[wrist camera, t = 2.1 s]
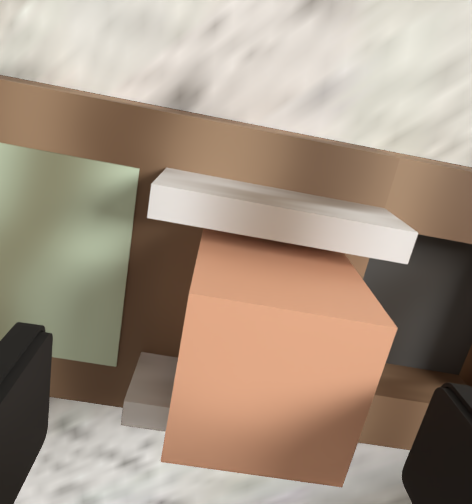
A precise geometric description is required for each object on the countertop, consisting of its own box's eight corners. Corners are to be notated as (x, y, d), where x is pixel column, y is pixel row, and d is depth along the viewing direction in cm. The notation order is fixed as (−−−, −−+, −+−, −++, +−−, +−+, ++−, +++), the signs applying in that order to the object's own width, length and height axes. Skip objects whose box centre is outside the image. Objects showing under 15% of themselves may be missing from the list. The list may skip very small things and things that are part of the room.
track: (568, 186, 18) (716, 225, 13) (466, 417, 22) (546, 525, 17) (-71, 61, 17) (-226, 42, 11) (-61, 335, 21) (-172, 426, 15)
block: (339, 247, 16) (397, 328, 10) (307, 362, 18) (342, 487, 12) (204, 222, 16) (188, 292, 10) (184, 343, 17) (160, 462, 12)
